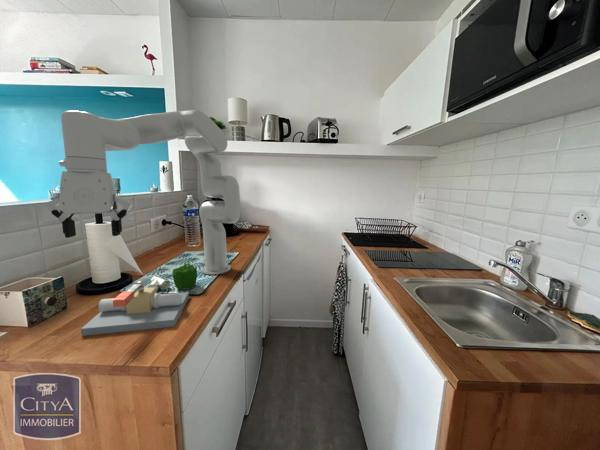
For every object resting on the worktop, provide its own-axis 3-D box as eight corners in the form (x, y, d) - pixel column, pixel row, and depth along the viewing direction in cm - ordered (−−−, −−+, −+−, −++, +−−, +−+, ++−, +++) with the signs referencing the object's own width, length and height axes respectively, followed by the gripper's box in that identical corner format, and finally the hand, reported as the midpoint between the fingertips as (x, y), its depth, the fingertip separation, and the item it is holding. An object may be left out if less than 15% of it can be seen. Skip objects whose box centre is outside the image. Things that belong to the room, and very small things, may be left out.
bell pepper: (171, 287, 94) (169, 262, 92) (193, 281, 99) (191, 257, 98) (177, 294, 88) (175, 267, 86) (201, 288, 93) (199, 262, 92)
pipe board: (117, 303, 81) (114, 283, 80) (189, 297, 86) (187, 278, 84) (82, 335, 64) (78, 310, 62) (174, 326, 68) (172, 302, 67)
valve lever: (137, 289, 75) (136, 279, 74) (149, 288, 75) (147, 278, 75) (112, 312, 61) (111, 300, 60) (127, 311, 62) (125, 299, 61)
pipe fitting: (152, 295, 88) (171, 288, 93) (150, 285, 87) (169, 278, 93) (142, 290, 93) (160, 283, 98) (140, 280, 92) (158, 274, 97)
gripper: (30, 163, 54) (40, 240, 56) (122, 166, 59) (128, 237, 61) (53, 166, 61) (61, 234, 63) (133, 169, 66) (138, 232, 68)
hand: (94, 236), depth 62 cm, fingers open, 9 cm apart
